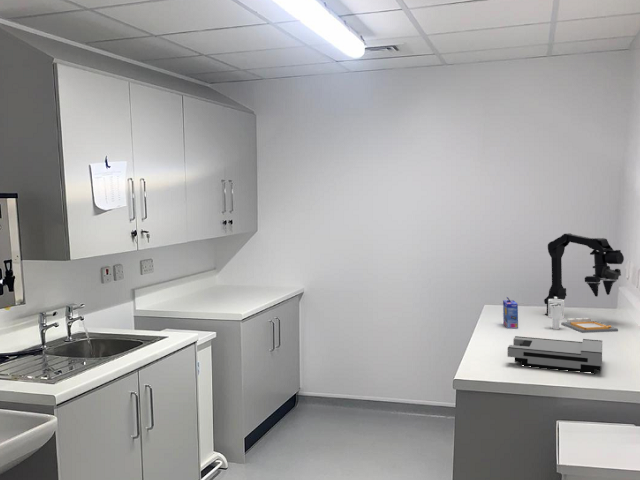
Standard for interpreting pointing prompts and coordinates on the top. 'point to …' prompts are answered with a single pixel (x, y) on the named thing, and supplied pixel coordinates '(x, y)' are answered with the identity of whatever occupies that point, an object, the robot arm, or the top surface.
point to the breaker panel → (587, 325)
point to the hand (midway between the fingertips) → (602, 295)
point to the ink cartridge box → (510, 313)
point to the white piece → (555, 311)
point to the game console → (557, 354)
